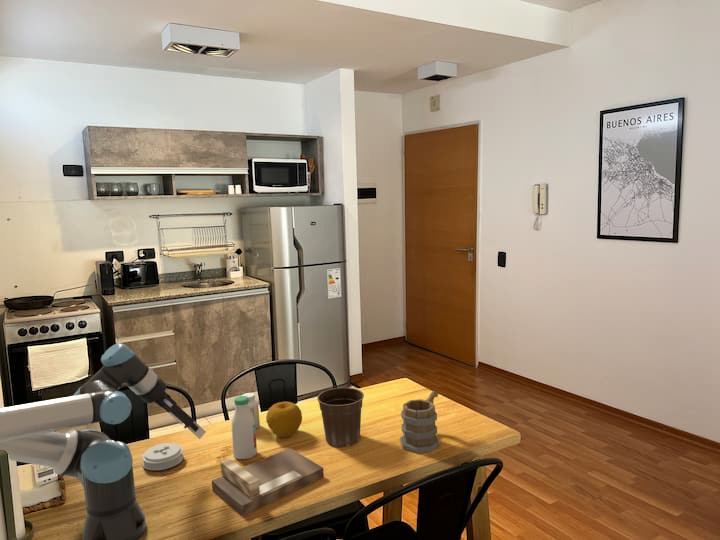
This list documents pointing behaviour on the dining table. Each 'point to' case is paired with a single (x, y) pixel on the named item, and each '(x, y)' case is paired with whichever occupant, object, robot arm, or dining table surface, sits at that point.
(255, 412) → the supplement bottle
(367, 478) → the dining table surface
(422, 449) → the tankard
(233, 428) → the milk bottle
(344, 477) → the dining table surface
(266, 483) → the stool seat
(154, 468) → the lid
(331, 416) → the plant pot
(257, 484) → the folding leg
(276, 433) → the apple
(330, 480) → the dining table surface
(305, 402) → the dining table surface
